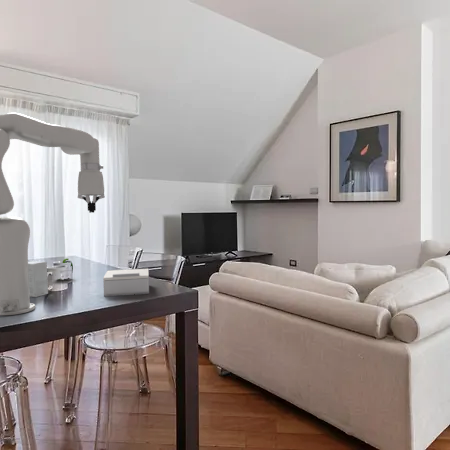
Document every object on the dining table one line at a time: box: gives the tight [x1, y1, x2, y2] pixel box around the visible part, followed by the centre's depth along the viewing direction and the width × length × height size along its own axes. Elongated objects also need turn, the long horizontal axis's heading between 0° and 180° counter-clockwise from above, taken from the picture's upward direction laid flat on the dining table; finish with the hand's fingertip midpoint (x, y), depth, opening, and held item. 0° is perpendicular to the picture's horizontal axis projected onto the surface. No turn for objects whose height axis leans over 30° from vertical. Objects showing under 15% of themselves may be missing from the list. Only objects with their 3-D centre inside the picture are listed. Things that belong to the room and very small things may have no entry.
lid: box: [103, 267, 150, 281], centre depth 159 cm, size 18×17×2 cm
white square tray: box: [103, 278, 150, 297], centre depth 159 cm, size 17×17×6 cm
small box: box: [28, 260, 49, 298], centre depth 154 cm, size 8×6×13 cm
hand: (91, 212), depth 163 cm, fingers closed
